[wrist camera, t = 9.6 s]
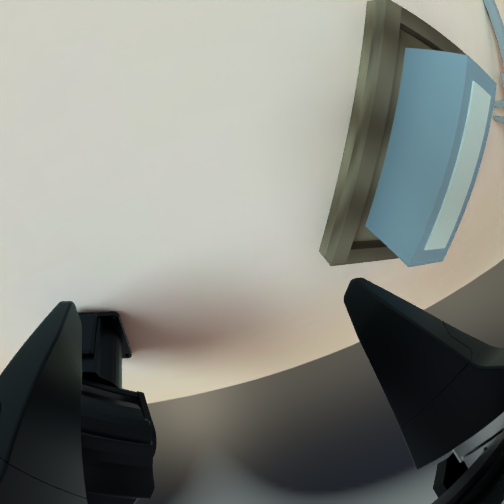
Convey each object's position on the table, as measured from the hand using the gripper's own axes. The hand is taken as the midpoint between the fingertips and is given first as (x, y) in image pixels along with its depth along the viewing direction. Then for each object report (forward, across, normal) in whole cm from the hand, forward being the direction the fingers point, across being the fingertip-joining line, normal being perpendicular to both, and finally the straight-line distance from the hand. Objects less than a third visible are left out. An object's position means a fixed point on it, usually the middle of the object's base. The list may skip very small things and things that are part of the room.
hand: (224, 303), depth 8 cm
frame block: (+10, -17, -5) cm, 21 cm away
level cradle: (+11, -17, -5) cm, 21 cm away
